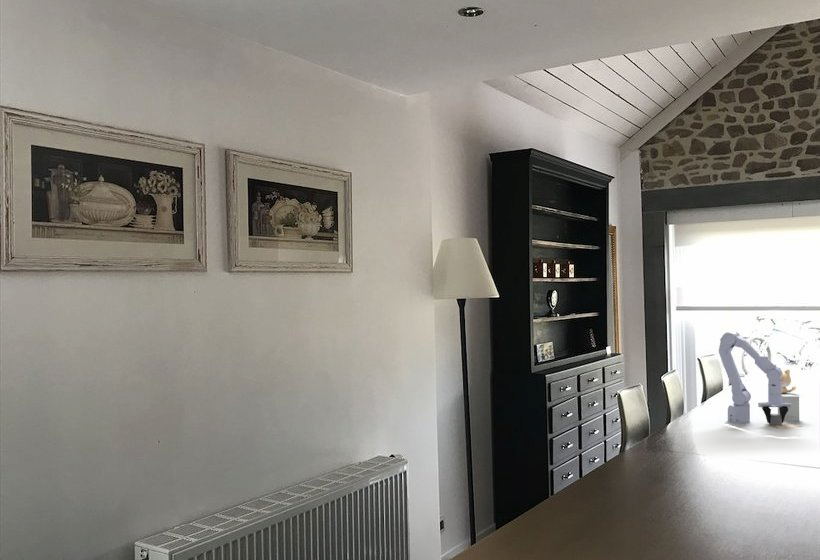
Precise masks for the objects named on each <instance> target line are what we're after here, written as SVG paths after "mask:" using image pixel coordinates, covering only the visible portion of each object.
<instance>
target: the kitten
mask: <svg viewBox="0 0 820 560" xmlns="http://www.w3.org/2000/svg"><path fill="white" fill-rule="evenodd" d="M781 371H782V373H783V376H782V377H781V378H780V379H781V384H782V394H787V393H791V392H793V391H795V390H796V389H797V387H796V386H795V385H793V386H792V387H791V389H787V387H789V386H790V385H791V383H792V379H791V376H790V369H789V368H788V369H785V370H781Z"/></svg>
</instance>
